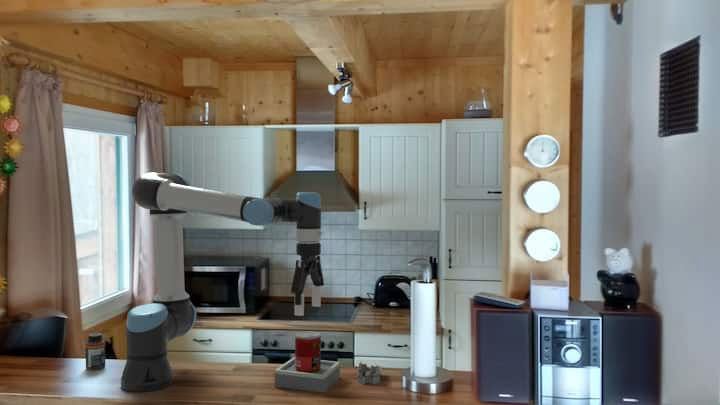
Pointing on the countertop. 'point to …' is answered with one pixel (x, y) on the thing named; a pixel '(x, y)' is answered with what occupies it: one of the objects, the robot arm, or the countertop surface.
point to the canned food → (307, 351)
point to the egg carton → (369, 374)
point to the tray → (307, 376)
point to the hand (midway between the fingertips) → (308, 310)
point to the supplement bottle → (95, 352)
